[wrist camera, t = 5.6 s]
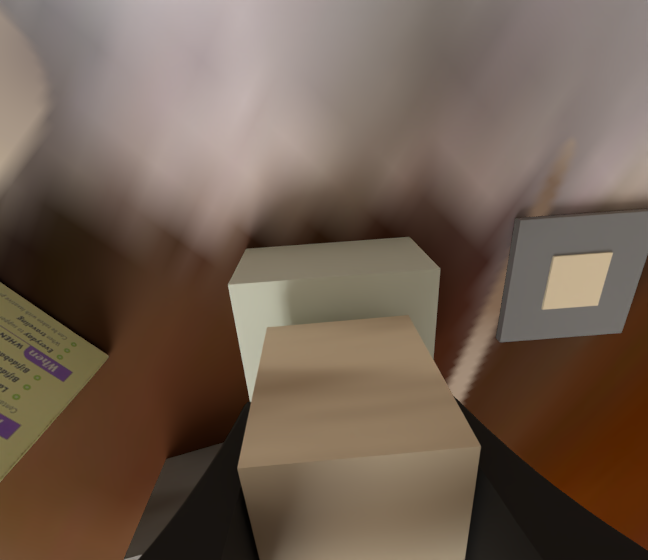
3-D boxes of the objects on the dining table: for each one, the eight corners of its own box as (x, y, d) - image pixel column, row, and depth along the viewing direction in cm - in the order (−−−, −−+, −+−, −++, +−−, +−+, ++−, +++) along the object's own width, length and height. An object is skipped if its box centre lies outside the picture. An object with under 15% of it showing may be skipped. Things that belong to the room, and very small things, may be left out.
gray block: (271, 488, 21) (262, 589, 16) (202, 507, 21) (174, 611, 17) (241, 436, 19) (220, 533, 14) (166, 458, 19) (123, 559, 15)
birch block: (405, 422, 13) (461, 585, 8) (283, 433, 13) (270, 603, 8) (408, 315, 11) (480, 445, 6) (266, 327, 11) (237, 468, 6)
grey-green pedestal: (402, 366, 18) (428, 427, 14) (267, 377, 18) (257, 441, 14) (407, 235, 15) (440, 268, 11) (247, 246, 15) (227, 284, 11)
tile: (614, 328, 17) (623, 333, 17) (495, 337, 17) (501, 343, 17) (653, 208, 15) (664, 210, 14) (515, 218, 15) (522, 220, 14)
